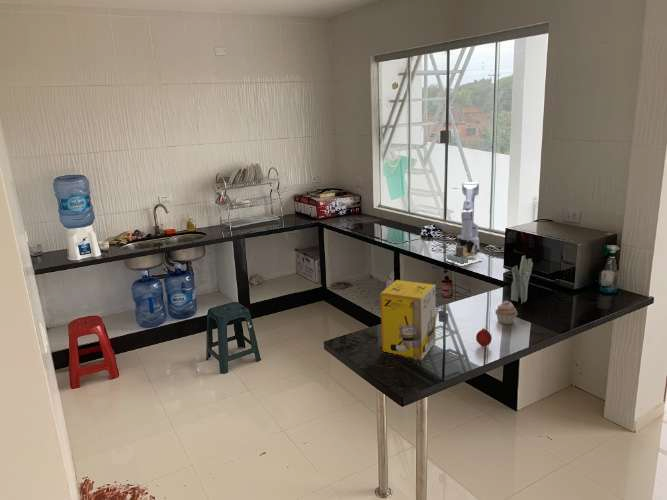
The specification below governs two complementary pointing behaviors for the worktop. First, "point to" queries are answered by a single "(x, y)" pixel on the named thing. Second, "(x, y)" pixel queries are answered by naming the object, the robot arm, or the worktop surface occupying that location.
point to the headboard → (460, 258)
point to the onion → (483, 337)
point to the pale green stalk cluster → (521, 280)
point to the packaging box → (408, 318)
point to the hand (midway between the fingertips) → (466, 252)
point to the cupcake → (506, 313)
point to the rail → (465, 251)
